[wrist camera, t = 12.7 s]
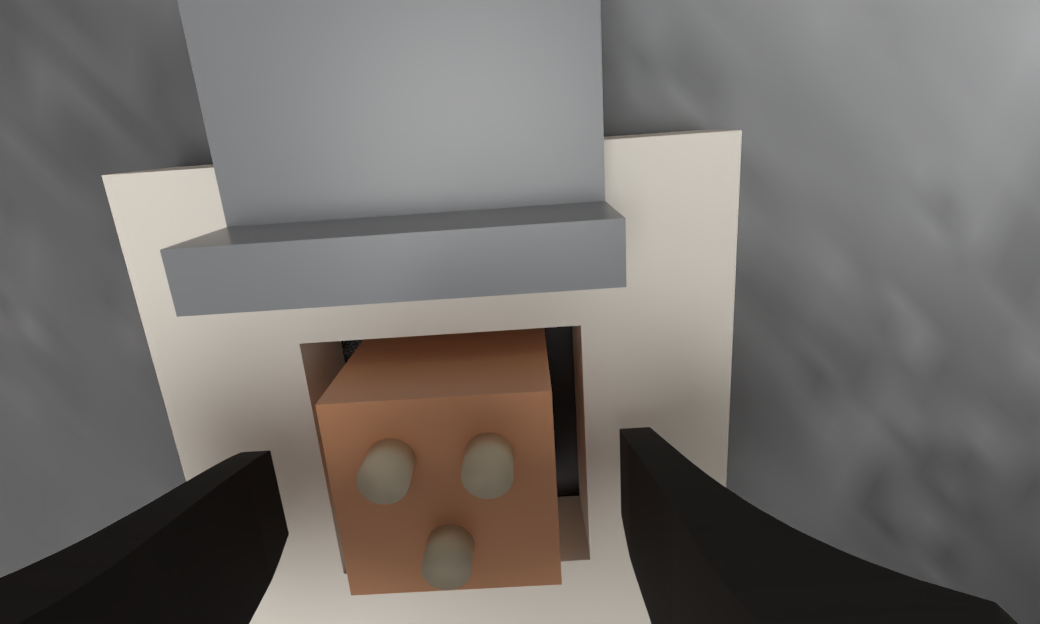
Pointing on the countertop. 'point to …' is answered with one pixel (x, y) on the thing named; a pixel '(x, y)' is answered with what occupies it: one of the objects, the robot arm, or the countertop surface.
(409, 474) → the plug
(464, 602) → the socket board
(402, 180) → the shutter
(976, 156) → the countertop surface
